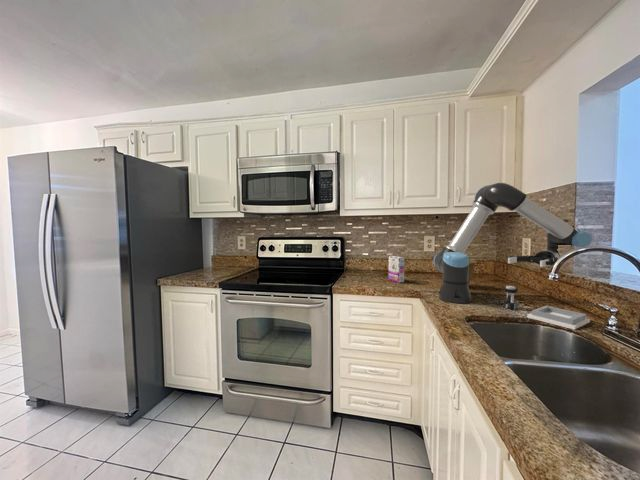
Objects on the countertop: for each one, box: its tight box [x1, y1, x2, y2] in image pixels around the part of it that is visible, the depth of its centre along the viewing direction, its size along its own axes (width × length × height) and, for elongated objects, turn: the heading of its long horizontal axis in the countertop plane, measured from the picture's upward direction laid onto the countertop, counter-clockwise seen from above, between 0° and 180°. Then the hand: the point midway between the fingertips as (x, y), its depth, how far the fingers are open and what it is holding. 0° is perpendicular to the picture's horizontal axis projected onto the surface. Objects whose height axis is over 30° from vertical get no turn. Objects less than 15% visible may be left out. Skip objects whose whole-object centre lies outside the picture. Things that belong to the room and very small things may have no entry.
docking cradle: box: [526, 305, 591, 330], centre depth 110 cm, size 15×15×3 cm
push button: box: [503, 285, 519, 310], centre depth 126 cm, size 7×5×10 cm
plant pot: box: [468, 259, 476, 285], centre depth 166 cm, size 15×15×16 cm
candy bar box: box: [387, 255, 406, 284], centre depth 182 cm, size 11×5×16 cm, turn 23°
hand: (524, 262), depth 130 cm, fingers open, 13 cm apart
